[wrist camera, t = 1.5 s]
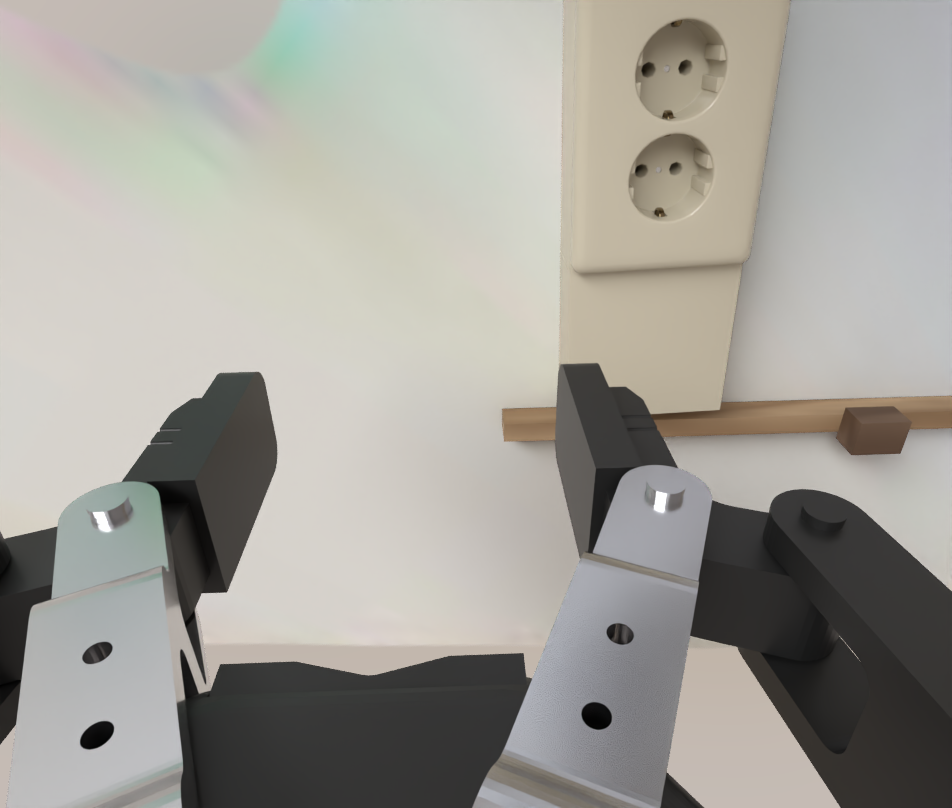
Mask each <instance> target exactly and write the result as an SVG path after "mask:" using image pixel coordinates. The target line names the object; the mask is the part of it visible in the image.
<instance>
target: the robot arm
mask: <svg viewBox="0 0 952 808" xmlns="http://www.w3.org/2000/svg"><path fill="white" fill-rule="evenodd" d="M555 448H556V458H557V464H558V468H559V472H560V477H561V481H562V485H563V489H564V493H565V498H566V502H567V506H568V510H569V514H570V519H571V523H572V527H573V531H574V535H575V540H576V544H577V548H578V552H579V556H580V561H579V563H578V565H577V568H576V571H575V573H574V576H573V578H572V581H571V583H570V586H569V588H568V591H567V593H566V596H565V598H564V601H563V603H562V606H561V608H560V611H559V613H558V616H557V618H556V621H555V623H554V626H553V628H552V631H551V633H550V636H549V638H548V641H547V643H546V646H545V648H544V651H543V653H542V656H541V658H540V661H539V663H538V666H537V668H536V671H535V673H534V676H533V678H527V677H526V673H525V663H524V655H523V653H519V654H493V655H491V654H490V655H464V656H448V657H444V658H440V659H436V660H432V661H428V662H424V663H421V664H417V665H413V666H409V667H405V668H401V669H397V670H394V671H390V672H386V673H382V674H378V675H370V676H367V675H360V674H355V673H350V672H345V671H340V670H335V669H330V668H324V667H320V666H315V665H309V664H304V663H299V662H272V663H245V664H221V665H220V667H219V669H218V672H217V675H216V678H215V681H214V683H213V686H212V689H211V683H210V678H209V671H208V665H207V660H206V654H205V648H204V642H203V636H202V630H201V624H200V619H199V616H198V613H197V610H196V605H197V603H198V600H199V598H200V596H201V593H222V592H227V591H228V589H229V586H230V583H231V581H232V578H233V576H234V573H235V571H236V568H237V566H238V563H239V561H240V558H241V556H242V553H243V551H244V548H245V546H246V543H247V540H248V538H249V535H250V533H251V530H252V528H253V525H254V523H255V520H256V518H257V515H258V513H259V510H260V508H261V505H262V503H263V500H264V497H265V495H266V492H267V490H268V487H269V485H270V482H271V480H272V477H273V475H274V472H275V469H276V464H277V441H276V436H275V431H274V426H273V421H272V416H271V411H270V406H269V401H268V396H267V391H266V386H265V382H264V379H263V377H262V375H261V374H260V373H259V372H239V373H219V374H218V375H217V376H216V378H215V379H214V381H213V382H212V384H211V385H210V387H209V388H208V390H207V391H206V393H205V394H204V396H203V397H202V398H193V399H191V400H189V401H188V402H186V403H185V404H184V405H182V406H181V407H179V408H178V409H176V410H175V411H173V412H172V413H171V414H170V415H169V417H168V418H167V420H166V421H165V422H164V424H163V425H162V426H161V428H160V432H157V433H156V435H155V436H154V438H153V439H152V440H151V445H148V446H147V447H146V449H145V450H144V451H143V453H142V454H141V456H140V457H139V458H138V460H137V461H136V463H135V464H134V465H133V467H132V468H131V470H130V471H129V472H128V474H127V475H126V477H125V478H124V479H123V481H122V482H119V483H114V484H109V485H106V486H103V487H100V488H97V489H94V490H92V491H90V492H88V493H86V494H84V495H82V496H81V497H79V498H77V499H76V500H75V501H73V502H72V503H71V504H70V505H69V506H68V507H66V509H65V510H64V511H63V512H62V514H61V516H60V518H59V521H58V527H54V528H50V529H46V530H41V531H37V532H33V533H28V534H24V535H19V536H15V537H11V538H6V539H4V538H3V536H2V534H1V532H0V744H1V743H2V741H3V740H4V739H5V738H6V737H7V735H8V734H9V733H10V731H11V730H12V729H13V728H14V726H15V725H16V731H15V738H14V746H13V754H12V763H11V771H10V779H9V787H8V796H7V804H6V808H704V807H703V806H702V805H701V804H700V803H698V802H697V801H696V800H695V799H694V798H693V797H692V796H691V795H690V794H689V793H688V792H687V791H686V790H685V789H684V788H683V787H682V786H681V785H679V784H678V782H676V781H675V780H674V779H673V778H672V777H671V776H670V775H669V774H668V773H667V766H668V760H669V754H670V749H671V742H672V737H673V731H674V726H675V719H676V714H677V708H678V702H679V696H680V690H681V685H682V679H683V673H684V668H685V662H686V656H687V650H688V644H689V639H690V636H693V637H697V638H702V639H706V640H710V641H715V642H719V643H723V644H728V645H732V646H736V647H738V650H739V652H740V654H741V655H742V657H743V659H744V660H745V662H746V663H747V665H748V666H749V668H750V669H751V671H752V672H753V674H754V675H755V677H756V679H757V680H758V682H759V683H760V685H761V686H762V688H763V689H764V691H765V692H766V694H767V696H768V697H769V699H770V700H771V702H772V703H773V705H774V706H775V708H776V709H777V711H778V712H779V714H780V715H781V717H782V718H783V720H784V722H785V723H786V724H787V726H788V728H789V729H790V731H791V732H792V734H793V735H794V737H795V738H796V740H797V741H798V743H799V744H800V746H801V747H802V749H803V750H804V752H805V754H806V755H807V757H808V758H809V760H810V761H811V763H812V764H813V766H814V767H815V769H816V770H817V772H818V774H819V775H820V777H821V778H822V780H823V781H824V783H825V784H826V786H827V787H828V789H829V790H830V792H831V793H832V795H833V796H834V798H835V800H836V801H837V803H838V804H839V806H840V807H841V808H952V591H951V590H949V589H948V588H947V587H946V586H945V585H944V584H943V583H942V582H941V581H940V580H939V579H937V578H936V577H935V576H934V575H933V574H932V573H931V572H930V571H929V570H928V569H926V568H925V567H924V566H923V565H922V564H921V563H920V562H919V561H918V560H917V559H915V558H914V557H913V556H912V555H911V554H910V553H909V552H908V551H907V550H906V549H904V548H903V547H902V546H901V545H900V544H899V543H898V542H897V541H896V540H895V539H893V538H892V537H891V536H890V535H889V534H888V533H887V532H886V531H885V530H884V529H882V528H881V527H880V526H879V525H878V524H877V523H876V522H875V521H874V520H873V519H872V518H870V517H869V516H868V515H867V514H866V513H865V512H864V511H862V510H861V509H860V508H859V507H857V506H856V505H854V504H852V503H851V502H849V501H847V500H845V499H843V498H840V497H838V496H835V495H832V494H829V493H826V492H821V491H816V490H806V489H799V490H791V491H786V492H784V493H781V494H779V495H778V496H776V497H775V498H774V499H773V501H772V503H771V506H770V509H769V513H766V512H760V511H754V510H749V509H743V508H737V507H733V506H728V505H724V504H721V503H718V502H715V501H713V500H712V495H711V492H710V490H709V488H708V487H707V485H706V484H705V483H704V482H703V481H702V480H700V479H699V478H698V477H696V476H695V475H693V474H691V473H689V472H687V471H684V470H681V469H678V467H677V465H676V463H675V461H674V459H673V457H672V455H671V453H670V451H669V449H668V448H667V446H666V444H665V442H664V440H663V438H662V436H661V434H660V432H659V430H657V426H656V424H655V422H654V420H653V418H651V414H650V412H649V410H648V408H647V406H646V404H645V402H644V400H643V399H642V398H641V397H639V396H638V395H636V394H635V393H634V392H632V391H631V390H630V389H628V388H627V387H609V386H608V384H607V381H606V379H605V377H604V374H603V372H602V370H601V367H600V365H599V364H598V363H577V364H560V367H559V373H558V389H557V408H556V427H555ZM839 635H840V636H841V638H842V639H843V640H844V641H845V642H846V644H847V645H848V646H849V647H850V648H851V650H852V651H853V652H854V653H855V654H856V656H857V657H858V658H859V659H858V658H857V657H856V656H855V655H854V653H852V651H851V650H850V649H849V647H848V646H847V645H846V644H845V643H844V641H843V640H842V639H841V638H840V637H839ZM859 660H860V661H861V662H860V661H859Z"/></svg>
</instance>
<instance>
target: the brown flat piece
mask: <svg viewBox="0 0 952 808" xmlns="http://www.w3.org/2000/svg"><path fill="white" fill-rule="evenodd" d="M556 408H557V407H550V408H515V409H502V427H503V435H504V442H505V441H538V440H555V427H556ZM651 418H653V420H654V422H655V424H656V426H657V430H659V432H660V434H661V436H662V437H671V436H705V435H738V434H772V433H805V432H838V433H837V437H836V439H837V440H838V441H839V442H840V443H841V444H842V445H843V446H844V447H845V448H846V450H847V451H848V452H849V453H850V454H851V455H870V454H900V453H901V450H902V448H903V445H904V442H905V440H906V437H907V434H908V432H909V429H938V428H952V396H929V397H894V398H860V399H825V400H791V401H757V402H722V403H721V406H720V410H710V411H694V412H678V413H662V414H651Z"/></svg>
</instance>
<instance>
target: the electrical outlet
mask: <svg viewBox="0 0 952 808" xmlns="http://www.w3.org/2000/svg"><path fill="white" fill-rule="evenodd" d="M790 5H791V0H563V72H562V158H561V244H560V251H561V252H560V329H559V367H560V364H577V363H598V364H599V365H600V367H601V370H602V372H603V374H604V377H605V379H606V381H607V384H608V386H609V387H627V388H628V389H630V390H631V391H632V392H634V393H635V394H636V395H638V396H639V397H641V398H642V399H643V400H644V402H645V404H646V406H647V408H648V410H649V412H650V414H662V413H678V412H694V411H710V410H720V406H721V400H722V393H723V387H724V380H725V374H726V368H727V361H728V355H729V348H730V342H731V336H732V329H733V323H734V316H735V310H736V303H737V297H738V291H739V284H740V278H741V271H742V265H743V263H744V262H745V261H747V260H748V259H749V257H750V253H751V247H752V241H753V235H754V229H755V222H756V216H757V210H758V204H759V198H760V191H761V185H762V179H763V173H764V166H765V160H766V154H767V148H768V142H769V135H770V129H771V123H772V117H773V110H774V104H775V98H776V92H777V86H778V79H779V73H780V67H781V61H782V55H783V48H784V42H785V36H786V30H787V23H788V17H789V11H790Z"/></svg>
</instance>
